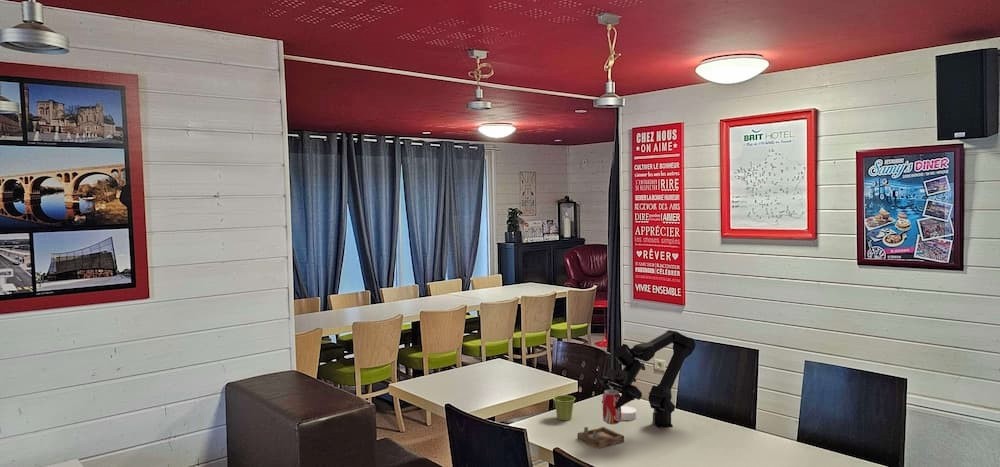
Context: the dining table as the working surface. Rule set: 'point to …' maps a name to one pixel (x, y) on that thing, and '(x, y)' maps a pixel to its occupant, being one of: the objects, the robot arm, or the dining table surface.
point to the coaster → (628, 413)
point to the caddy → (600, 437)
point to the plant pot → (564, 406)
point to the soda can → (611, 407)
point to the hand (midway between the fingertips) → (609, 405)
